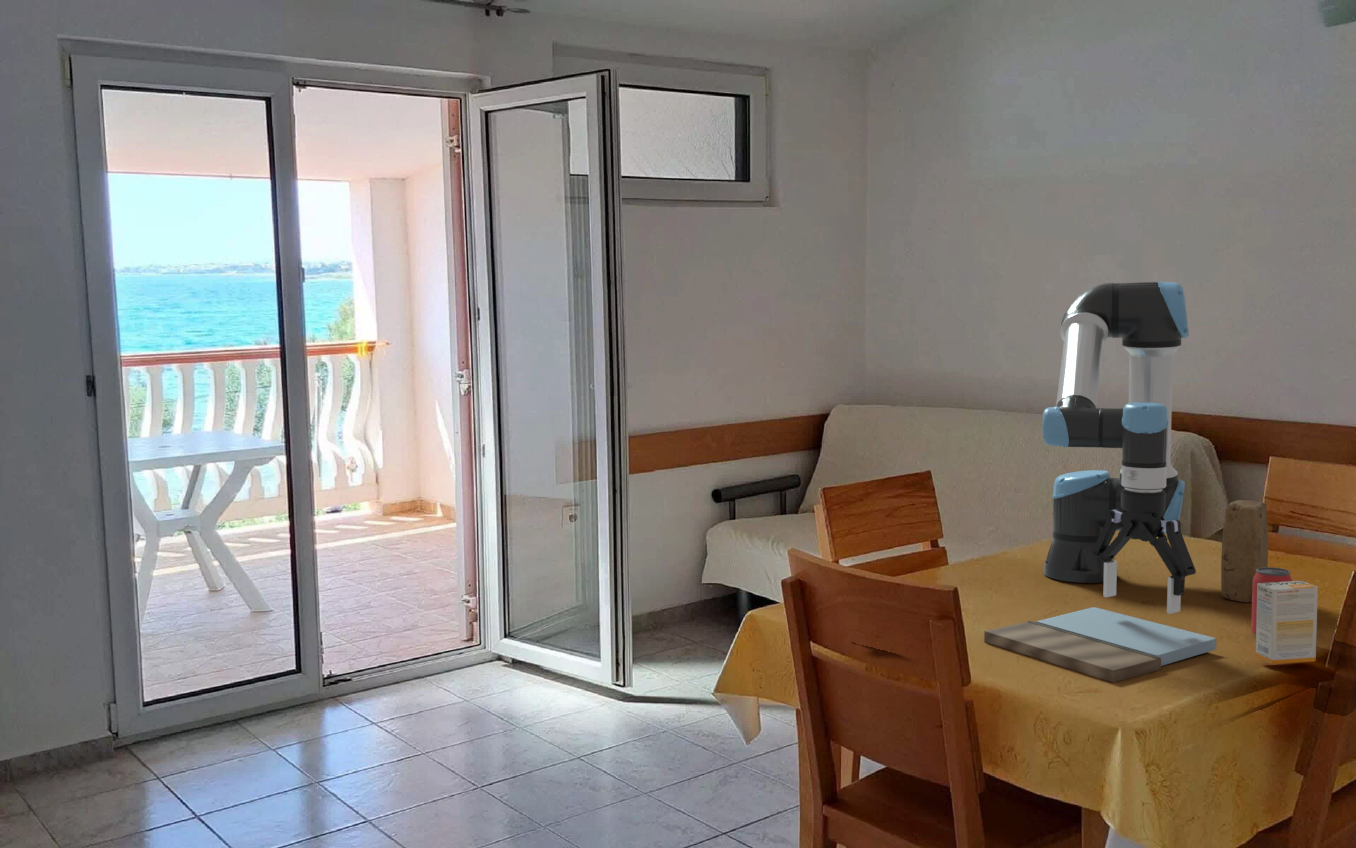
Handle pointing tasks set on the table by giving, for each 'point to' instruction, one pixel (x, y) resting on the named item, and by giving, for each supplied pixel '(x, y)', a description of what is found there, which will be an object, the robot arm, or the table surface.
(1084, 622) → the plank
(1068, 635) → the floor board
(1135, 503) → the robot arm
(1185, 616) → the table surface
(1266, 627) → the supplement box
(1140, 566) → the table surface
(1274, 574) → the beer can
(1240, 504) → the block
